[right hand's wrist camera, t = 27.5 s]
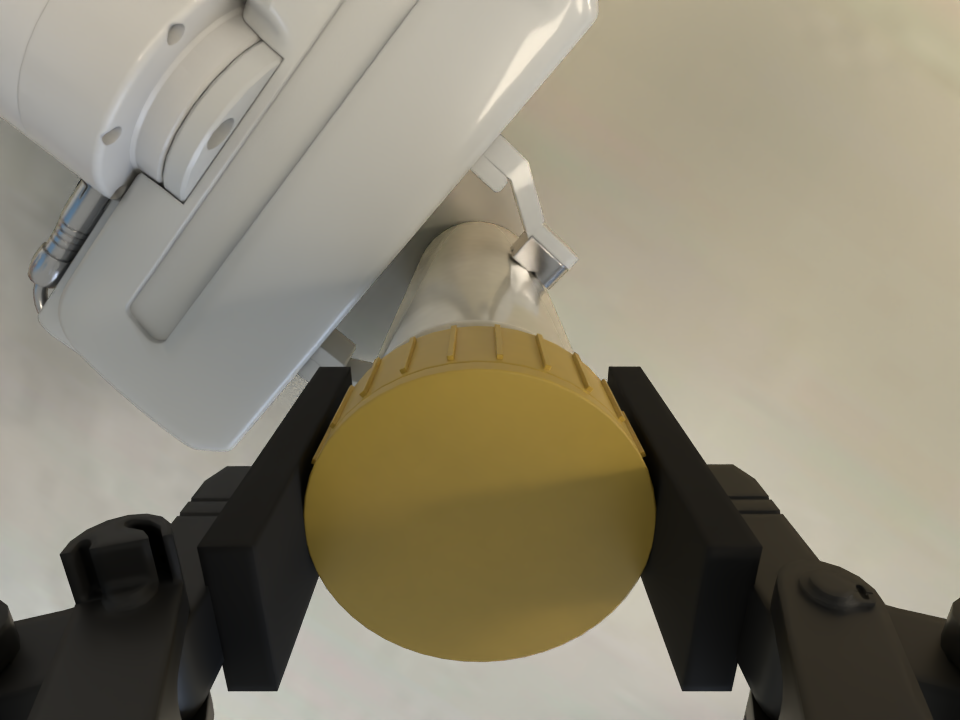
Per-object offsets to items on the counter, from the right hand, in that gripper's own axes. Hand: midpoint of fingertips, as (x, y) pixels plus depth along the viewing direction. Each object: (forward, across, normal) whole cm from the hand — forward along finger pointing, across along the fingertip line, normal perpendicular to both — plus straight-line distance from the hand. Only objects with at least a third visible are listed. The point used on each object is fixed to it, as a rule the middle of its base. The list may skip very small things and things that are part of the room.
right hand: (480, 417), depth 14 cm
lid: (-4, 0, 0) cm, 4 cm away
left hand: (+7, -1, 0) cm, 7 cm away
